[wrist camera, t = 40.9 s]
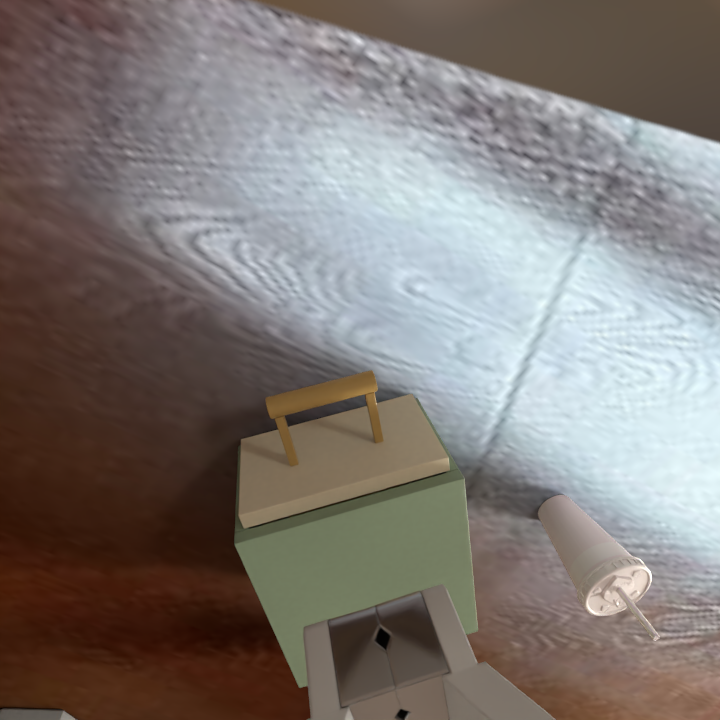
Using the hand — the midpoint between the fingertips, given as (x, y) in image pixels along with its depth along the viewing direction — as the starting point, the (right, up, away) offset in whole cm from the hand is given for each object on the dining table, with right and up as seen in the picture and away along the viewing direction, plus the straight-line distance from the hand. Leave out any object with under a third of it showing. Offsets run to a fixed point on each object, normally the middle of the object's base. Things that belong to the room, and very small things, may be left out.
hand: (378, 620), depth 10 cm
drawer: (-2, -3, +29) cm, 29 cm away
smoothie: (+19, -10, +39) cm, 44 cm away
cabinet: (-1, -7, +32) cm, 33 cm away
